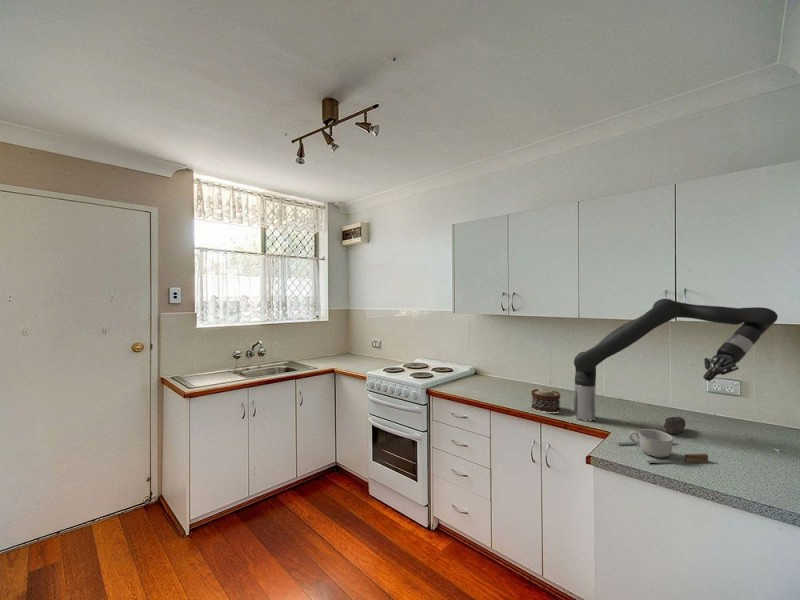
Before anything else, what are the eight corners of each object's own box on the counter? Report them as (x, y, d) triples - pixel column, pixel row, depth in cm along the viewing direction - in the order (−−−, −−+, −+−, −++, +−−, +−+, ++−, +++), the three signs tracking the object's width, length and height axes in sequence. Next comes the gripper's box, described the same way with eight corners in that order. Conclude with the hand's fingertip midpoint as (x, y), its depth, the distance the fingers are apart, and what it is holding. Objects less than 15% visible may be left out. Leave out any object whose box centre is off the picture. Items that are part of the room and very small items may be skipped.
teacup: (673, 453, 136) (673, 433, 136) (671, 463, 128) (671, 442, 128) (631, 444, 146) (631, 424, 146) (626, 452, 138) (626, 432, 138)
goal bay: (616, 444, 146) (616, 442, 146) (639, 443, 146) (639, 441, 146) (649, 464, 128) (649, 462, 128) (675, 463, 129) (675, 461, 129)
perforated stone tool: (677, 427, 164) (677, 412, 164) (690, 430, 159) (690, 415, 159) (660, 433, 157) (660, 417, 157) (674, 437, 152) (674, 421, 152)
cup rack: (651, 443, 146) (651, 437, 146) (669, 442, 147) (669, 436, 147) (687, 462, 129) (687, 455, 129) (708, 461, 130) (708, 454, 130)
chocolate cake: (550, 395, 180) (525, 389, 192) (550, 416, 180) (525, 408, 192) (566, 390, 188) (541, 385, 200) (566, 410, 188) (541, 404, 201)
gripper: (713, 339, 148) (685, 369, 147) (746, 344, 134) (716, 376, 134) (724, 352, 148) (697, 381, 147) (758, 357, 135) (729, 390, 134)
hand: (706, 379), depth 141 cm, fingers closed
